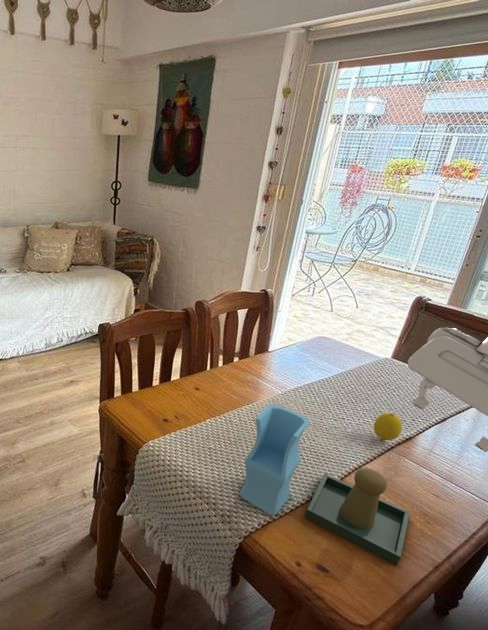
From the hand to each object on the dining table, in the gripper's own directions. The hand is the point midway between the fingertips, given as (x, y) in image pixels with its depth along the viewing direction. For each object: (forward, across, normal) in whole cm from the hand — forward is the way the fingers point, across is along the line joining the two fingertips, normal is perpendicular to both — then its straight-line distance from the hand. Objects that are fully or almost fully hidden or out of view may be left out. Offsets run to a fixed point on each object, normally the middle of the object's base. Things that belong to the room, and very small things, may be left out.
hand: (447, 426), depth 70 cm
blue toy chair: (+33, -14, +6) cm, 37 cm away
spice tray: (+25, -2, +15) cm, 30 cm away
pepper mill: (+25, -2, +15) cm, 29 cm away
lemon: (+13, -13, +44) cm, 48 cm away
